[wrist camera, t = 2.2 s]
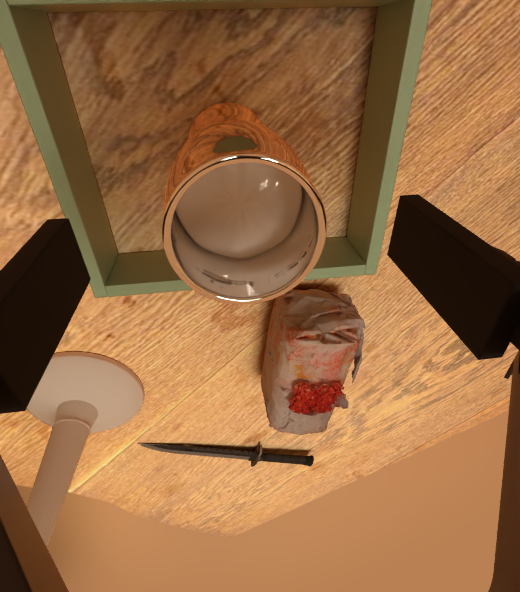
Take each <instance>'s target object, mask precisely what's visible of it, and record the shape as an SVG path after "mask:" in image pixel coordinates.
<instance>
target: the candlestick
mask: <svg viewBox="0 0 520 592" xmlns="http://www.w3.org/2000/svg"><path fill="white" fill-rule="evenodd" d="M143 400H144V389H143V385H142V383H141V381H140V380H139V378H138V377H137V376H136V374H135V373H134V372H133V371H131V370H130V369H129V368H128V367H126V366H125V365H123V364H121V363H120V362H118V361H116V360H113V359H111V358H108V357H105V356H102V355H98V354H94V353H88V352H61V353H55V354H53V356H52V358H51V360H50V362H49V364H48V366H47V368H46V370H45V372H44V374H43V376H42V378H41V380H40V382H39V384H38V386H37V388H36V390H35V392H34V394H33V396H32V398H31V400H30V402H29V404H28V406H27V408H26V409H27V410H28V411H29V412H30V413H31V414H32V415H33V416H35V417H36V418H37V419H39V420H40V421H42V422H44V423H46V424H48V425H50V426H52V431H51V435H50V438H49V441H48V444H47V447H46V450H45V453H44V456H43V459H42V462H41V464H40V467H39V470H38V473H37V476H36V479H35V482H34V485H33V488H32V491H31V494H30V497H29V500H28V503H27V506H26V507H27V509H28V511H29V513H30V515H31V517H32V519H33V521H34V523H35V525H36V527H37V529H38V531H39V533H40V535H41V537H42V539H43V541H44V543H45V545H46V547H47V546H48V543H49V540H50V538H51V535H52V532H53V530H54V527H55V524H56V522H57V519H58V516H59V513H60V511H61V508H62V505H63V503H64V500H65V497H66V494H67V492H68V489H69V486H70V484H71V481H72V478H73V475H74V473H75V470H76V467H77V465H78V462H79V459H80V457H81V454H82V451H83V448H84V446H85V443H86V441H87V438H88V435H89V434H90V433H94V432H101V431H106V430H110V429H113V428H116V427H119V426H121V425H123V424H125V423H127V422H129V421H130V420H131V419H133V418H134V417H135V416H136V415H137V414H138V413H139V411H140V409H141V407H142V405H143Z"/></svg>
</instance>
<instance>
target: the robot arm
mask: <svg viewBox="0 0 520 592" xmlns="http://www.w3.org/2000/svg"><path fill="white" fill-rule="evenodd" d="M387 255H388V256H389V257H390V258H391V259H392V261H393V262H394V263H395V264H396V265H397V266H398V268H399V269H400V270H401V271H402V272H403V273H404V274H405V276H406V277H407V278H408V279H409V280H410V281H411V283H412V284H413V285H414V286H415V287H416V288H417V289H418V291H419V292H420V293H421V294H422V295H423V296H424V298H425V299H426V300H427V301H428V302H429V303H430V304H431V306H432V307H433V308H434V309H435V310H436V311H437V313H438V314H439V315H440V316H441V317H442V318H443V319H444V321H445V322H446V323H447V324H448V325H449V326H450V328H451V329H452V330H453V331H454V332H455V333H456V334H457V336H458V337H459V338H460V339H461V340H462V341H463V343H464V344H465V345H466V346H467V347H468V348H469V349H470V351H471V352H472V353H473V354H474V355H475V356H476V358H477V359H478V360H481V359H490V358H499V357H502V356H503V354H504V352H505V350H506V349H507V347H508V345H509V343H510V342H511V343H512V344H513V345H514V346H515V347H516V348H517V349H518V350H519V352H518V353H517V355H516V357H515V359H514V360H513V362H512V364H511V366H510V367H509V369H508V371H507V373H506V375H505V376H504V378H507V379H508V378H509V377H510V375H512V385H511V395H510V406H509V417H508V427H507V438H506V448H505V458H504V469H503V480H502V490H501V500H500V511H499V522H498V531H497V542H496V553H495V563H494V573H493V579H492V583H491V587H490V589H489V591H488V592H520V262H519V261H516V259H515V258H513V257H512V256H510V255H509V254H507V253H506V252H504V251H502V250H500V249H497V248H495V247H493V246H491V245H489V244H488V243H486V242H485V241H483V240H482V239H481V238H479V237H478V236H476V235H475V234H473V233H472V232H471V231H469V230H468V229H466V228H465V227H463V226H462V225H461V224H459V223H458V222H456V221H455V220H453V219H452V218H451V217H449V216H448V215H446V214H445V213H444V212H442V211H441V210H439V209H438V208H436V207H435V206H434V205H432V204H431V203H429V202H428V201H426V200H425V199H424V198H422V197H421V196H419V195H404V196H400V199H399V203H398V208H397V213H396V217H395V222H394V227H393V231H392V236H391V241H390V245H389V250H388V254H387ZM90 280H91V278H90V275H89V273H88V270H87V267H86V264H85V262H84V259H83V256H82V253H81V251H80V248H79V245H78V242H77V240H76V237H75V234H74V231H73V229H72V226H71V223H70V220H69V218H64V219H49V220H47V221H46V222H45V223H44V224H43V225H42V226H41V227H40V228H39V229H38V231H37V232H36V233H35V234H34V235H33V236H32V237H31V238H30V239H29V240H28V241H27V243H26V244H25V245H24V246H23V247H22V248H21V249H20V250H19V251H18V252H17V253H16V254H15V256H14V257H13V258H12V259H11V260H10V261H9V262H8V263H7V264H6V265H5V266H4V268H3V269H2V270H1V271H0V414H1V413H10V412H19V411H25V410H26V408H27V406H28V404H29V402H30V400H31V398H32V396H33V394H34V392H35V390H36V388H37V386H38V384H39V382H40V380H41V378H42V376H43V374H44V372H45V370H46V368H47V366H48V364H49V362H50V360H51V358H52V356H53V354H54V352H55V350H56V348H57V346H58V344H59V342H60V340H61V338H62V336H63V334H64V332H65V330H66V328H67V326H68V324H69V322H70V320H71V318H72V316H73V314H74V312H75V310H76V308H77V306H78V304H79V302H80V300H81V298H82V296H83V294H84V292H85V290H86V288H87V286H88V284H89V282H90ZM0 592H69V591H68V589H67V587H66V585H65V583H64V581H63V579H62V577H61V575H60V573H59V572H58V569H57V567H56V566H55V563H54V561H53V559H52V557H51V555H50V553H49V551H48V549H47V547H46V545H45V543H44V541H43V539H42V537H41V535H40V533H39V531H38V529H37V527H36V525H35V523H34V521H33V519H32V517H31V515H30V513H29V511H28V509H27V507H26V505H25V503H24V501H23V499H22V497H21V495H20V493H19V491H18V489H17V487H16V485H15V483H14V481H13V479H12V477H11V475H10V473H9V471H8V469H7V467H6V465H5V463H4V461H3V459H2V457H1V455H0Z"/></svg>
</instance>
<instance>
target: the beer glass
mask: <svg viewBox="0 0 520 592" xmlns="http://www.w3.org/2000/svg"><path fill="white" fill-rule="evenodd" d="M326 232H327V221H326V213H325V209H324V205H323V202H322V200H321V197H320V195H319V193H318V191H317V190H316V188H315V187H314V185H313V183H312V181H311V178H310V176H309V174H308V172H307V170H306V168H305V167H304V165H303V164H302V162H301V160H300V159H299V157H298V156H297V154H296V153H295V152H294V150H293V149H292V148H291V147H290V146H289V145H288V144H287V143H286V142H285V141H284V140H283V139H282V138H281V137H280V136H279V135H278V134H276V133H275V132H274V131H272V130H271V129H269V128H267V127H265V126H264V125H263V123H262V121H261V120H260V119H259V117H258V116H257V115H256V114H255V113H254V112H253V111H251V110H250V109H248V108H247V107H245V106H242V105H240V104H236V103H229V102H226V103H218V104H215V105H212V106H210V107H208V108H206V109H205V110H204V111H202V112H201V113H200V114H199V115H198V116H197V117H196V119H195V120H194V122H193V123H192V125H191V127H190V130H189V133H188V138H187V142H186V143H185V144H184V145H183V147H182V148H181V150H180V151H179V153H178V155H177V157H176V159H175V161H174V163H173V166H172V168H171V171H170V174H169V177H168V182H167V187H166V192H165V201H164V216H163V222H162V240H163V246H164V250H165V253H166V256H167V258H168V261H169V263H170V264H171V266H172V268H173V270H174V271H175V272H176V274H177V275H178V276H179V277H180V278H181V280H182V281H183V282H184V283H186V284H187V285H188V286H189V287H190V288H192V289H193V290H195V291H196V292H198V293H199V294H201V295H203V296H205V297H207V298H210V299H213V300H215V301H219V302H223V303H228V304H255V303H261V302H265V301H268V300H271V299H274V298H276V297H279V296H281V295H283V294H285V293H287V292H288V291H290V290H291V289H293V288H294V287H296V286H297V285H298V284H299V283H300V282H302V281H303V280H304V279H305V278H306V277H307V275H308V274H309V273H310V272H311V271H312V269H313V268H314V266H315V265H316V263H317V261H318V260H319V257H320V255H321V253H322V250H323V247H324V244H325V239H326Z"/></svg>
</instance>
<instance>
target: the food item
mask: <svg viewBox="0 0 520 592" xmlns="http://www.w3.org/2000/svg"><path fill="white" fill-rule="evenodd" d="M363 328H365V324H364V320H363V319H362V318H361V317H360V315H359V314H358V311H357V309H356V307H355V305H353V303H352V301H351V297H350V296H349V295H347V294H336V293H334V292H325V291H322V290H319V289H309V290H299V289H291V290H290V291H288V292H287V293H285V294H283V295H281V296H279V297H276V300H275V303H274V306H273V310H272V314H271V318H270V324H269V330H268V335H267V341H266V349H265V354H264V363H263V368H262V376H261V387H262V392H263V396H264V400H265V402H264V403H265V406H266V412H267V418H268V419H269V422H270V424H269V426H270V427H273V428H274V429H276V430H278V431H280V432H283V433H284V432H286V433H292V434H300V435H303V434H307V433H318V432H323V431H325V430H326V428H327V424H328V421H329V419H330V417H331V415H332V412H333V410H334V407H340V406H341V407H342V408H343V409H345V408H348V401H347V400H346V398H345V397H346V394H343V393H342V391H341V389H344V387H343V384H344V381H345V379H346V376H347V372H348V370H349V367H350V365H351V363H352V361H353V359H355V360H354V365H355V368H354V370H353V371H352V377H353V381H352V383H353V382H354V379H355V377H356V374H357V372H358V369H359V366H360V363H361V361H362V345H363ZM342 396H343V397H342Z"/></svg>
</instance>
